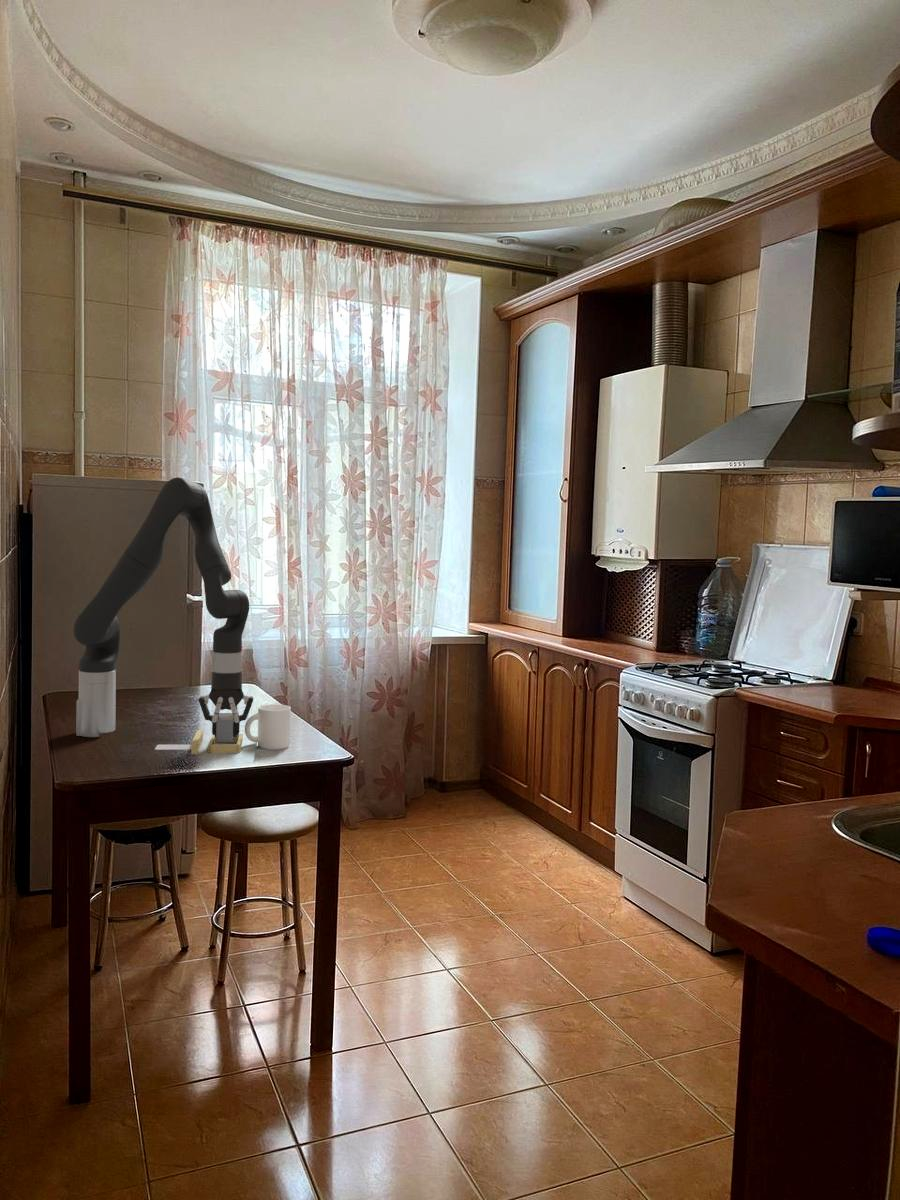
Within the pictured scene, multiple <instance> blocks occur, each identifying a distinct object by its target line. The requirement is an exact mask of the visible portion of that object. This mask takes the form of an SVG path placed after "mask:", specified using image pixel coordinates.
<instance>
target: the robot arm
mask: <svg viewBox="0 0 900 1200" xmlns="http://www.w3.org/2000/svg"><path fill="white" fill-rule="evenodd" d="M179 516H182V517H185V518H186V520H187V521H188V523H189V525H190V526H191V528H192V531H193V534H194V558H195V562H196V565H197V568H198V570H199V573H200V575H201V578H202V580H203V587H204V588H203V589H204V598H205V608H206V609H207V611H208V613H209V615H211V617H212V618H214V619H217V620H222V619H223V620H224V619H226V621H225V624H224V625H223V626H220V627H218V628H216V629H215V630H214V631H213V633H212V634H213V636H212V638H213V639H212V640H213V641H212V657H211V665H210V667H211V672H210V673H211V676H210V677H211V678H210V679H211V680H210V681H211V682H210V684H211V685H210V692H209V694H206V695H201V696H200V697H199V698H198V703H199V706H200V709H201V712H202V713H203V714H202V715H203V718H204V720H205V721H210V722H211V725H212V727H211V733H212V735H215V737H216V724H217V717H218V716H219V713H221V711H223V710H228V711H229V710H230V711H231V713H232V714H233V717H234V737H236V736H237V735H238V734H240V730H241V729H240V727H241V726H240V724H241V722H243V721H247V719H248V716H249V713H250V711H251V707H252V705H253V702H254V699H255V698H254V697H253V696H252V695H251V696H248V695H246V694H244V691H243V686H242V685H243V654H242V651H243V649H242V648H243V647H242V646H243V638H242V637H243V633H244V629H245V627H246V624H247V619H248V616H249V613H250V599H249V597H248V595H247V594H246V592H244V591H243V590H240V589H228V590H227V589H226V590H224V588H223V586H225V585H226V584H228V583H230V581H231V580H232V572H231V570H230V567H229V564H228V562H227V559H226V556H225V554H224V553H223V549H222V547H221V544H220V542H219V537H218V535H217V531H216V526H215V522H214V517H213V514H212V509H211V504H210V499H209V497H208V493H207V491H206V489H205V488H204V487H203V486H202V485H200V484H199V483H196V482H194V481H192V480H189V479H186V478H182V477H179V476H178V477H177V476H176V477H172V478H171V479H169V480H168V481H167V482H166V483H164V485H163V487H162V488H161V490H160V492H159V493H158V495H157V497H156V499H155V501H154V503H153V504H152V507H151V508H150V511H149V512H148V514H147V516H146V518H145V520H144V521H143V523H142V524H141V526H140V527H139V529H138V530H137V532H136V533H135V536H133V538H132V540H131V541H130V543H129V544H128V545H127V547H126V548H125V550H124V551H123V553H122V554H121V556H120V557H119V558H118V560H117V562H116V563H115V565H114V567H113V569H112V570H111V571H110V573H109V574H108V576H107V577H106V579H105V581H104V583H102V585H101V587H100V588H99V590H98V592H97V593H96V595H94V597H93V598H92V599H91V600H90V602H89V603H88V604H87V606H85V607H84V609H83V610H82V611H81V612H80V614H78V616H77V617H76V620H75V622H74V624H73V635H74V638H75V640H76V642H78V643H79V644H81V645H83V646H84V647H85V650H84V652H83V654H82V656H81V657H80V659H79V660H78V699H76V714H75V715H76V716H75V717H76V721H75V723H76V727H75V728H76V729H75V730H76V732H75V733H76V734H75V735H76V736H78V737H80V736H81V737H85V738H101V737H102V736H103V735H104V734H109V733H112V732H114V731H115V730H116V700H117V699H116V696H117V695H116V692H117V691H116V690H117V688H116V687H117V685H116V681H117V680H116V678H117V677H116V673H117V672H116V671H117V662H118V659H119V656H120V640H121V639H120V638H121V628H120V622H119V619H118V614H119V612H120V611H121V609H122V608H123V606H125V605H126V604H127V603H128V602H129V601H130V600H131V599H132V598H133V597H134V596H135V595H137V594H138V593H139V592H140V591H142V589H143V588H144V587H145V586H146V585H147V584H148V582H150V580H151V578H152V577H153V575H155V573H156V571H157V569H158V568H159V567H160V565H161V563H162V560H163V556H164V550H165V539H166V535H167V534H168V530H169V529H170V527H171V526H172V525H173V523H174V521H175V520H176V519H177V517H179ZM242 700H243V704H244V705H245V708H244V710H243V711H242V714H240V713H239V708H238V705H239V704H240V703H241V701H242ZM209 701H211V702H212V703H213V705H214V706H215V708H214V711H213V714H211V712H210V710H209V707H208V704H209Z"/></svg>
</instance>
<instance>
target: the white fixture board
mask: <svg viewBox="0 0 900 1200" xmlns="http://www.w3.org/2000/svg"><path fill="white" fill-rule="evenodd" d="M243 736H244V735H243V733H239V734H238V735H237V736H236V737H234V741H233V744H216V737H215V735H213V734H212V735H211V737H210V739H209V742H208V745H207V753H208V754H216V753H218V754H225V753H226V754H230V753H231V754H233V753H234V754H240V753H241V749H242V745H243V741H244V739H243ZM203 742H204V730H202V729H197V731H196V733H195V735H194V737H193V739H192V740H191V743H190V744H156V746H155V748H154V750H157V751H159V750H160V751H161V750H162V751H163V750H164V751H166V750H167V751H168V750H171V751H174V750H175V751H177V750H178V751H179V750H180V751H181V750H182V751H185V750H186V751H187V750H189V751H191V752H190V754H191V755H197V754H198V753H199V751H200V748H201V747H202V743H203ZM235 743H236V744H235Z"/></svg>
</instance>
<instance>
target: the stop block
mask: <svg viewBox="0 0 900 1200" xmlns="http://www.w3.org/2000/svg"><path fill="white" fill-rule="evenodd" d="M233 741H234V717H233V714H232V712H219V716H218V717H217V724H216V742H215V744H234V742H233Z"/></svg>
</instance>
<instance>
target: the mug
mask: <svg viewBox="0 0 900 1200" xmlns="http://www.w3.org/2000/svg"><path fill="white" fill-rule="evenodd" d="M291 708H292V707H291V706H289V705H285V704H279V703H278V704H273V703H272V704H265V705H260V706H258V708H257V711H258V712H257V713H254V714H252V715H250V717H249V718H247V719H246V721H245V725H244V734H245V736H246V738H247V739H248V740H249V741H251V742H253V743H257V746H258V748H260V749H261V750H268V751H270V750H271V751H280V750H284V749H287V748H289V747H290V744H291V743H290V742H291V716H292V715H291V714H292V711H291ZM255 721H257V736H254V735H252V733H251V725H252V723H253V722H255Z"/></svg>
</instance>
